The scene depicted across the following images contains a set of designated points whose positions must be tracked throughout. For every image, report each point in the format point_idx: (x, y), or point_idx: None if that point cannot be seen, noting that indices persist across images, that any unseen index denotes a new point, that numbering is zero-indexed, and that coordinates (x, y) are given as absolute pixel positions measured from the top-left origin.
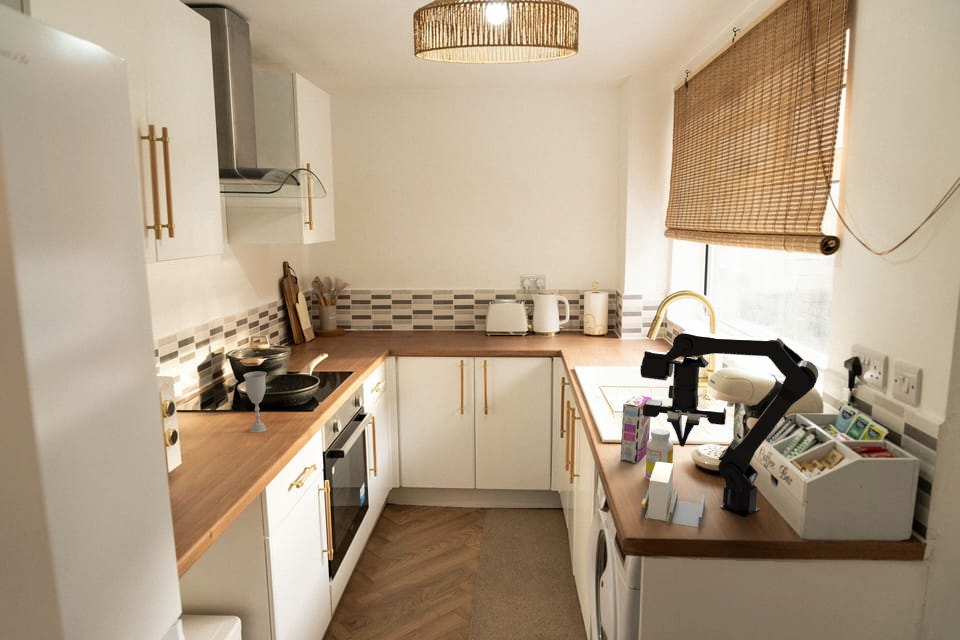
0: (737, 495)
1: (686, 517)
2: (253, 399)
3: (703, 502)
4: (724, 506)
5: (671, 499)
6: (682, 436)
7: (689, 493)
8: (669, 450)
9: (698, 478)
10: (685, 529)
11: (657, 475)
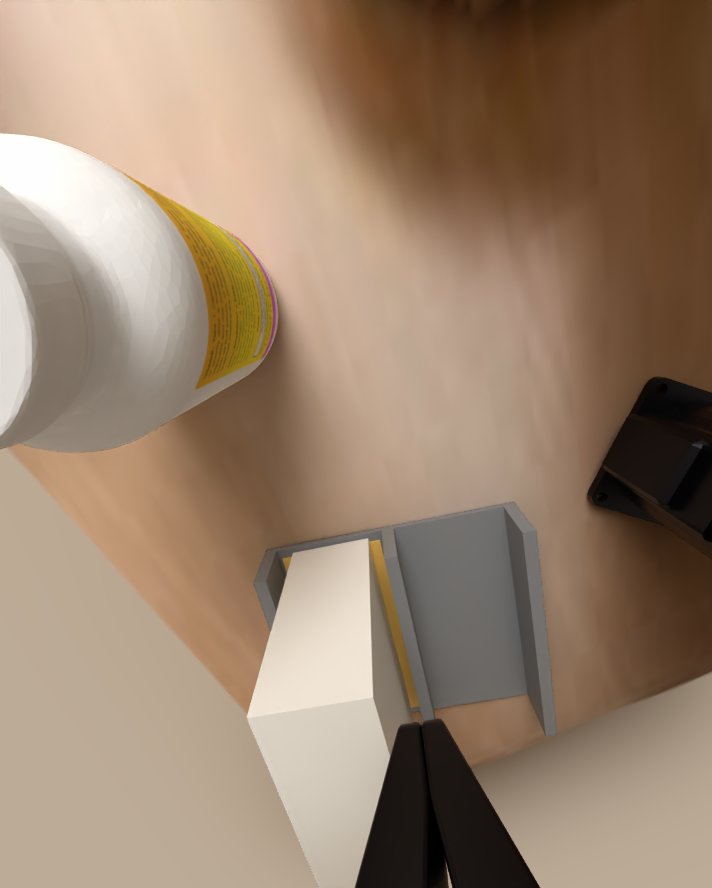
0: None
1: (471, 650)
2: None
3: (542, 615)
4: (610, 492)
5: (369, 545)
6: (433, 870)
7: (416, 406)
8: (200, 369)
9: (404, 140)
10: (485, 711)
11: (351, 879)
